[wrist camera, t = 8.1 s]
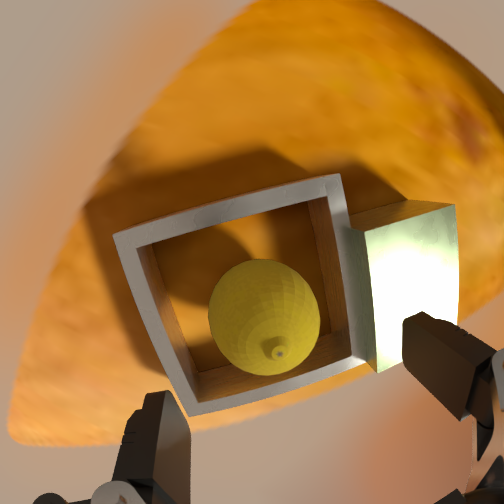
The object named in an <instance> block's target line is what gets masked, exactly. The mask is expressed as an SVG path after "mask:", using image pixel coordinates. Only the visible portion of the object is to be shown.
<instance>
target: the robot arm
mask: <svg viewBox="0 0 504 504" xmlns="http://www.w3.org/2000/svg"><path fill="white" fill-rule="evenodd" d="M401 355H402V361H403V363H404V366H405V367H406V369H407V370H408V371H409V372H410V373H411V374H412V375H413V376H414V377H415V378H416V379H417V380H418V381H419V382H420V383H421V384H422V385H423V386H424V387H425V388H426V389H428V390H429V392H430V393H432V394H433V395H434V396H435V397H436V398H437V399H438V400H439V401H440V402H441V403H442V404H443V405H444V406H445V407H446V408H447V409H448V410H449V411H450V412H451V413H452V414H453V415H454V416H455V417H456V418H457V419H458V420H459V421H460V422H461V421H462V420H463V419H465V418H466V417H468V416H469V415H470V414H472V415H473V416H474V420H473V453H472V454H473V455H472V469H471V474H470V477H469V479H468V483H467V486H466V490H465V493H464V494H461V493H460V492H459V491H458V489H455V490H454V491H453V492H451V493H450V494H448V495H447V496H445V497H444V498H442V499H441V500H439V501H437V502H436V503H434V504H504V348H503V349H501V350H499V351H496V350H495V349H493V348H492V347H490V346H489V345H487V344H486V343H484V342H483V341H481V340H479V339H478V338H476V337H474V336H473V335H472V334H468V332H467V331H465V330H464V329H460V327H459V326H457V325H456V324H454V323H452V322H451V321H448V320H444V319H440V318H435V317H433V316H431V315H430V314H428V313H427V312H425V311H419V312H417V313H415V314H413V315H411V316H408V317H406V318H404V319H403V321H402V351H401ZM124 434H125V435H123V438H122V442H121V443H122V445H121V446H120V449H119V453H118V457H117V461H116V465H115V469H114V473H113V477H112V480H111V481H110V482H107V483H105V484H103V485H101V486H100V487H98V488H97V489H96V491H95V492H94V493H93V495H92V498H91V499H88V500H83V501H77V502H72V503H68V502H66V500H64V499H63V498H62V497H61V496H59V495H57V494H54V493H46V494H43V495H41V496H39V497H38V498H37V499H36V500H35V501H34V502H33V504H190V467H191V466H190V465H191V462H190V461H191V433H190V428H189V425H188V423H187V421H186V419H185V417H184V415H183V413H182V412H181V410H180V408H179V406H178V404H177V402H176V400H175V398H174V397H173V395H172V393H171V392H170V391H169V390H165V391H159V392H153V393H147V394H146V396H145V399H144V403H143V407H142V409H140V410H135V412H134V413H133V414H132V416H131V417H130V418H129V419H128V421H127V424H126V427H125V431H124Z"/></svg>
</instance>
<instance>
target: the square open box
mask: <svg viewBox="0 0 504 504" xmlns="http://www.w3.org/2000/svg"><path fill="white" fill-rule="evenodd" d="M303 201H307V204H308V208H309V213H310V217H311V222H312V227H313V231H314V236H315V241H316V246H317V251H318V256H319V261H320V267H321V272H322V277H323V283H324V289H325V294H326V300H327V306H328V312H329V319H330V325H331V333H329V334H326V335H323V336H320V337H318V338H317V341H316V343H315V346H314V348H313V349H312V351H311V352H310V354H309V355H308V356H307V357H306V358H305V359H304V360H303V361H302V362H301V363H300V364H299V365H297V366H296V367H294V368H292V369H291V370H289V371H286V372H283V373H280V374H276V375H269V376H267V375H256V374H252V373H249V372H246V371H243V370H242V369H240V368H238V367H236V366H235V365H233V364H230V365H226V366H223V367H219V368H215V369H211V370H207V371H203V372H198V370H197V368H196V366H195V363H194V361H193V359H192V356H191V354H190V351H189V349H188V346H187V344H186V342H185V339H184V336H183V334H182V331H181V329H180V326H179V324H178V321H177V318H176V316H175V313H174V310H173V308H172V305H171V302H170V299H169V297H168V294H167V291H166V288H165V285H164V282H163V279H162V276H161V273H160V270H159V267H158V264H157V261H156V258H155V255H154V252H153V249H152V245H151V243H154V242H158V241H161V240H164V239H168V238H171V237H174V236H178V235H181V234H185V233H188V232H192V231H195V230H199V229H202V228H206V227H209V226H213V225H216V224H220V223H224V222H227V221H231V220H234V219H238V218H242V217H246V216H249V215H253V214H257V213H261V212H264V211H268V210H272V209H276V208H280V207H284V206H288V205H291V204H295V203H299V202H303ZM112 235H113V239H114V242H115V245H116V248H117V251H118V254H119V257H120V260H121V263H122V266H123V269H124V272H125V275H126V278H127V281H128V284H129V286H130V289H131V292H132V294H133V297H134V300H135V302H136V305H137V307H138V310H139V312H140V315H141V317H142V320H143V322H144V325H145V327H146V330H147V332H148V334H149V337H150V339H151V341H152V344H153V346H154V348H155V350H156V352H157V355H158V357H159V359H160V361H161V363H162V365H163V368H164V370H165V372H166V374H167V376H168V378H169V380H170V382H171V384H172V386H173V388H174V390H175V392H176V394H177V396H178V398H179V400H180V402H181V403H182V405H183V407H184V409H185V411H186V413H187V415H188V416H189V417H192V416H197V415H202V414H206V413H211V412H215V411H220V410H224V409H228V408H232V407H236V406H240V405H244V404H248V403H252V402H255V401H259V400H262V399H266V398H269V397H272V396H276V395H279V394H282V393H285V392H288V391H292V390H295V389H298V388H301V387H303V386H306V385H309V384H312V383H315V382H318V381H320V380H323V379H326V378H328V377H331V376H334V375H336V374H339V373H341V372H344V371H346V370H349V369H351V368H353V367H356V366H358V365H361V364H363V363H365V362H367V363H368V364H369V365H370V366H371V367H372V368H373V369H374V371H375V372H376V373H380V372H382V371H384V370H386V369H388V368H390V367H392V366H394V365H396V364H398V363H400V362H402V355H401V351H402V321H403V319H404V318H406V317H408V316H411V315H413V314H415V313H417V312H419V311H425V312H427V313H428V314H430V315H431V316H433V317H435V318H440V319H444V320H448V321H451V322H452V323H454V324H456V323H457V309H458V282H459V263H458V236H457V222H456V211H455V204H448V203H438V202H429V201H418V200H405V201H401V202H397V203H393V204H389V205H386V206H382V207H378V208H374V209H371V210H367V211H363V212H359V213H356V214H352V215H348V210H347V205H346V200H345V195H344V190H343V185H342V181H341V176H340V173H337V174H329V175H320V176H314V177H309V178H305V179H301V180H296V181H292V182H288V183H283V184H279V185H275V186H271V187H267V188H263V189H259V190H255V191H251V192H247V193H243V194H239V195H235V196H232V197H228V198H224V199H220V200H217V201H213V202H209V203H206V204H202V205H199V206H195V207H192V208H188V209H185V210H181V211H178V212H175V213H171V214H168V215H165V216H161V217H158V218H155V219H152V220H148V221H145V222H142V223H139V224H136V225H133V226H130V227H127V228H125V229H123V230H121V231H119V232H117V233H115V234H112Z"/></svg>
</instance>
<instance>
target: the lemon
mask: <svg viewBox="0 0 504 504" xmlns="http://www.w3.org/2000/svg"><path fill="white" fill-rule="evenodd" d="M208 320H209V325H210V330H211V334H212V336H213V338H214V340H215V342H216V344H217V346H218V348H219V350H220V351H221V353H222V354H223V355H224V356H225V357H226V358H227V359H228V360H229V361H230V362H231V363H232V364H233V365H235V366H236V367H238V368H240V369H242V370H243V371H246V372H249V373H252V374H256V375H267V376H269V375H276V374H280V373H283V372H286V371H289V370H291V369H292V368H294V367H296V366H297V365H299V364H300V363H301V362H302V361H303V360H304V359H305V358H306V357H307V356H308V355H309V354H310V352H311V351H312V349H313V348H314V346H315V343H316V341H317V338H318V335H319V327H320V315H319V309H318V304H317V301H316V298H315V296H314V294H313V292H312V290H311V288H310V286H309V285H308V283H307V282H306V281H305V280H304V279H303V278H302V277H301V276H300V275H299V273H298V272H296V271H295V270H293V269H292V268H290V267H288V266H287V265H285V264H283V263H280V262H277V261H273V260H270V259H254V260H250V261H245V262H242V263H240V264H238V265H236V266H234V267H232V268H231V269H230V270H229V271H227V272H226V273H225V274H224V275H223V276H222V277H221V279H220V280H219V281H218V283H217V284H216V286H215V287H214V290H213V293H212V295H211V298H210V301H209V311H208Z"/></svg>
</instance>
